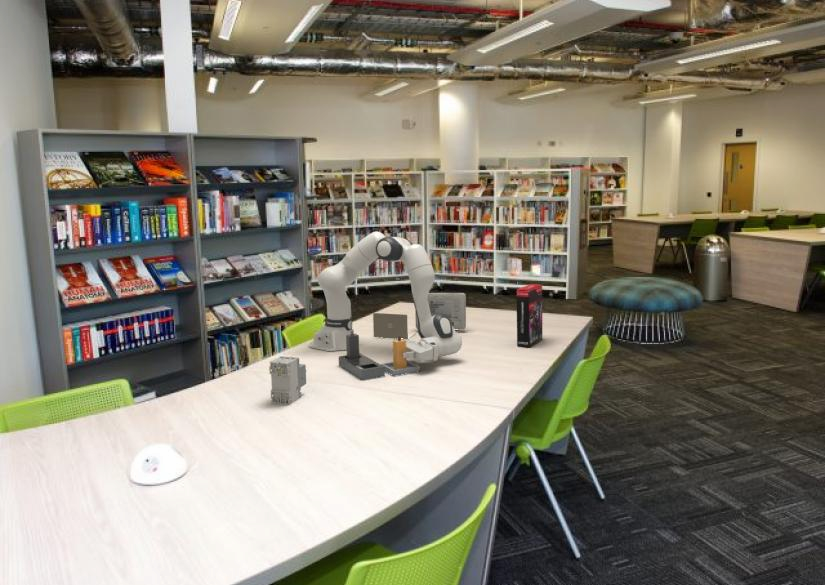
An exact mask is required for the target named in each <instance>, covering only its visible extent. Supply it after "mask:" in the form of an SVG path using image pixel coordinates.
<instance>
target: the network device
mask: <svg viewBox="0 0 825 585" xmlns="http://www.w3.org/2000/svg"><path fill="white" fill-rule="evenodd" d="M466 295H467V294H466V293H464V292H429V293H428V304H429V308H430V312H431V316H434V315H436V314H438V313H444V314H446V315H447V316H448V317H449V318H450V319H451V322H452V326H453V328H454V329H458V330H457V331H456V332H457V333H458V332H459V333H460V330H465V329H466V328H467V327H466V326H467V296H466ZM414 310H415V309H414ZM414 318H415V328H416V329H417V330H418V318H417V314H416V310H415V316H414Z"/></svg>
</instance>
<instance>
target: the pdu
mask: <svg viewBox="0 0 825 585" xmlns="http://www.w3.org/2000/svg"><path fill="white" fill-rule="evenodd" d="M381 364H382V363H378V361H375V360H373V359H372V358H370V357H368V356H367V355H364V354H362V353H361V352H359V358H355V359H347V354H345V355H340V356H339V355H338V366H339V367H340V366H341V368H342V369H343V370H345V369H346V370H345V371H347V372H348V371H349V372H348V373H350V374H351V373H352V374H351V375H353V376H354V375H355V377H356V378H358V379H359V378H360V379H359V380H361V381H366V379H367V380H372V379H371V378H373V379H377V378H376V377H378V378H382V377H381V376H384V377H385V376H386V375H385V374H386V372H385V367H384V366H382V365H381Z"/></svg>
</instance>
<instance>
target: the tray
mask: <svg viewBox="0 0 825 585" xmlns="http://www.w3.org/2000/svg"><path fill="white" fill-rule="evenodd" d="M406 363H407V368H404V369H398V370H395V369H394V365H393V361H390V362H384V363H380V364H381V365H382V366H384V367H385V371H387V372H388V373H387V372H386V373H387V374H389V373H390V374H392V375H393V376H392V375H391V376H392V377H396V376H395V375H399V376H402V375H401V374H404V375H406V374H405V373H410V374H413V373H412V372H415V373H418V372H417V371H420V372H421V366H420V365H418V364H416V363H414V362H411V361H410V360H407V359H406ZM390 374H389V375H390Z"/></svg>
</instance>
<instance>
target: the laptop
mask: <svg viewBox="0 0 825 585" xmlns="http://www.w3.org/2000/svg"><path fill="white" fill-rule="evenodd" d="M372 316H373V317H372V320H373V321H372V322H373V324H372V325H373V338H374V337H383V338H382V339H385V338H398V335H401V338H403V339H408V333H409V332H408V328H409V327H408V314H401V313H400V314H399V313H385V312H373V313H372ZM408 340H409V339H408Z"/></svg>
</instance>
